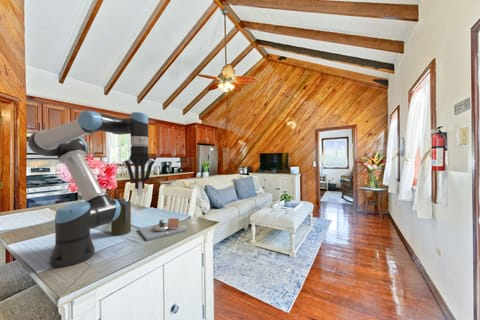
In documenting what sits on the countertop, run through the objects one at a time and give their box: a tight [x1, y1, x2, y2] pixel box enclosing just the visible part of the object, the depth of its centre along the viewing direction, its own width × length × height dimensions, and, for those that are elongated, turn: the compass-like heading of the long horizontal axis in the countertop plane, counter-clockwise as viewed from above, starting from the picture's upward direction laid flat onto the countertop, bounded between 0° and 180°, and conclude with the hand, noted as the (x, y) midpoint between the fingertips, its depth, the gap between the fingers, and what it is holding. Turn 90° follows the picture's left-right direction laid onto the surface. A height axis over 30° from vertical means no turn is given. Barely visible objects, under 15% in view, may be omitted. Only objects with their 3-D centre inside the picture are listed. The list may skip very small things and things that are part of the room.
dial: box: [152, 217, 180, 232], centre depth 119 cm, size 15×10×6 cm, turn 92°
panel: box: [137, 224, 187, 242], centre depth 120 cm, size 24×20×2 cm
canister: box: [110, 197, 132, 237], centre depth 117 cm, size 11×10×20 cm
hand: (139, 195), depth 93 cm, fingers closed
